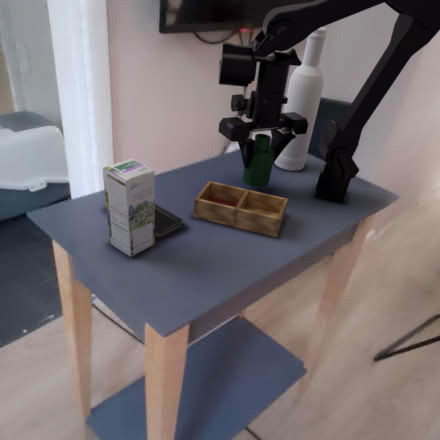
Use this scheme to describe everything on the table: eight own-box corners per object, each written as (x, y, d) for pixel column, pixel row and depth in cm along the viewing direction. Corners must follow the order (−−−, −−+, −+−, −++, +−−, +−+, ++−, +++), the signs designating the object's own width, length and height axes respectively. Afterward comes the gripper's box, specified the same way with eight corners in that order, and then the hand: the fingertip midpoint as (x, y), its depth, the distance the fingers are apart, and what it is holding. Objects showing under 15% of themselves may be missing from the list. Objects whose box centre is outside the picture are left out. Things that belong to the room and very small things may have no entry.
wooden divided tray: (284, 215, 82) (288, 198, 80) (276, 237, 76) (280, 219, 73) (207, 197, 85) (208, 180, 82) (193, 217, 79) (194, 199, 76)
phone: (155, 236, 70) (103, 204, 77) (155, 242, 71) (104, 209, 78) (186, 221, 75) (135, 191, 81) (186, 226, 76) (135, 196, 82)
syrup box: (134, 232, 73) (129, 156, 63) (156, 245, 70) (154, 168, 61) (109, 244, 69) (100, 165, 60) (131, 259, 67) (126, 179, 57)
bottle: (271, 167, 100) (296, 26, 80) (276, 155, 106) (302, 22, 86) (301, 173, 99) (336, 32, 79) (306, 162, 104) (338, 27, 84)
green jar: (271, 178, 90) (279, 134, 83) (265, 189, 86) (274, 144, 79) (246, 172, 91) (252, 129, 84) (239, 183, 87) (245, 138, 80)
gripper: (286, 76, 85) (273, 147, 95) (209, 78, 77) (204, 156, 87) (318, 91, 77) (300, 166, 88) (236, 96, 70) (227, 177, 80)
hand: (258, 166), depth 86 cm, fingers closed on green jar, 6 cm apart
